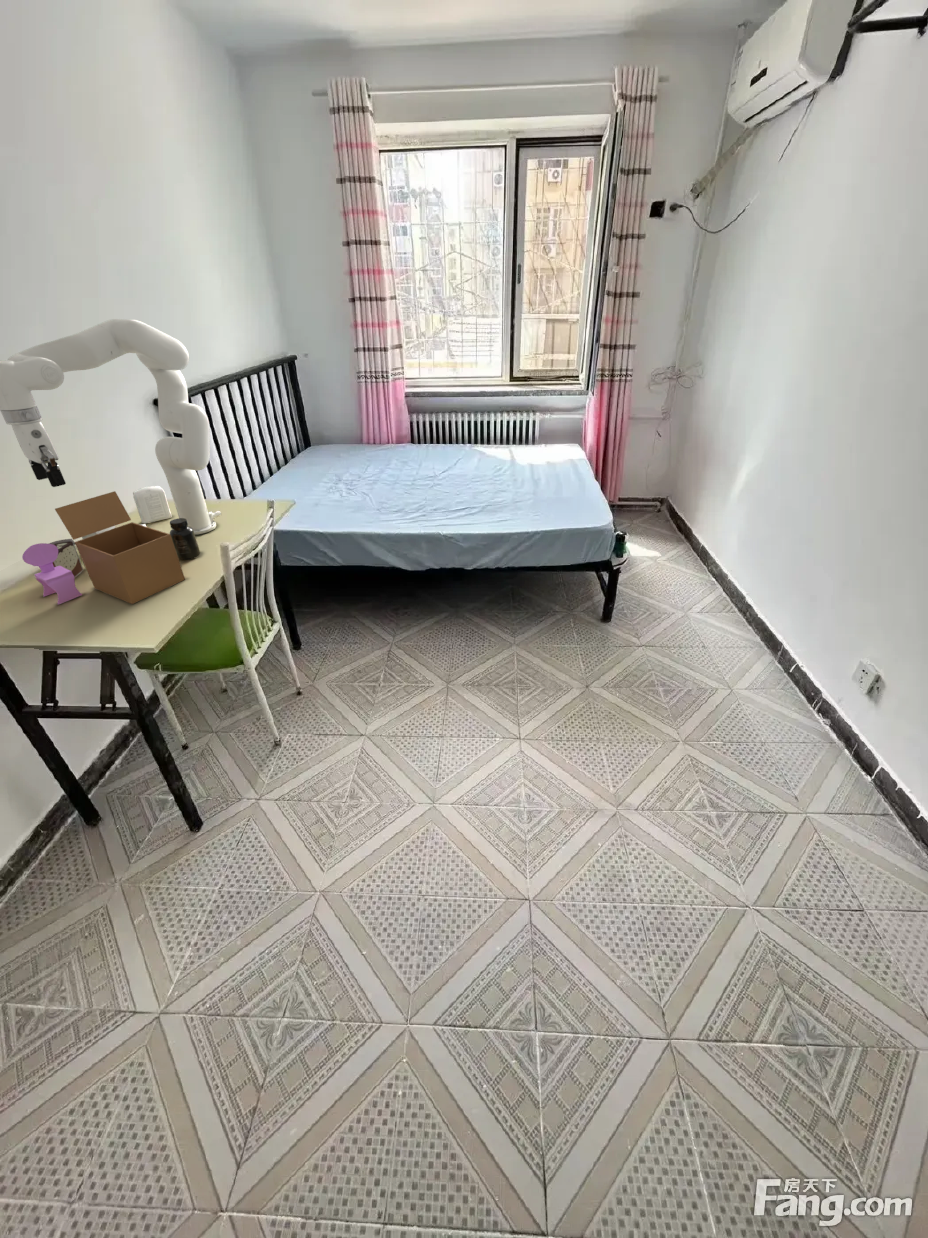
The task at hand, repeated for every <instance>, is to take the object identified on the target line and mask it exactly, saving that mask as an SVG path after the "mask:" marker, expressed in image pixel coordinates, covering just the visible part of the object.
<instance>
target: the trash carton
mask: <svg viewBox="0 0 928 1238" xmlns="http://www.w3.org/2000/svg"><path fill="white" fill-rule="evenodd" d="M146 526H147V525H146ZM146 526H142V525H140V524H139V523H136V522H133V521H132V522H129V523H126V524H122V525H120V526H117V527H116V528H114V529H111V530H108V531H105V532H102V533H99V534H96V535H94V536H91V537H88V538H85V539H82V538H81V539H79V540H77V541H76V540H75V541H74V542H75V544H76V545H75V548H76V550H77V552H78V553H79V554H78V555H79V557H80V559H81V560H82V563H83V565H84V568H85V569H86V572H87V575H88V577H89V579H90V581H91V583H92V585H93V588H94V589H95V590H98V591H101V592H102V593H105V594H107V595H110V596H111V597H114V598H117V599H119V600H121V601H124V602H125V603H128V604H131V605H133V604H136V603H138V602H140V601H142V600H144V599H146V598H149V597H150V596H152V595H155V594H157V593H160V592H162V591H164V590H166V589H167V588H170V587H172V586H174V585H177V584H179V583H180V582H183V581H185V580H186V577H185V575H184V572H183V568H182V566H181V563H180V559H179V558H178V556H177V553H176V550H175V547H174V544H173V541H172V538H171V535H170V533H167V532H165V531H162V530H158V529H155V528H152V527H148V526H147V527H146Z"/></svg>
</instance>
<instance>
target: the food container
mask: <svg viewBox="0 0 928 1238" xmlns="http://www.w3.org/2000/svg"><path fill="white" fill-rule="evenodd" d="M75 542H76V541H74V540H73V538H65V539H58V540H55V541H52V542H49V543H47V544H53V545H55V546H56V547H57V548H58V556H57V559H56V560H55V561H53V566H54V567H57V566H62V567H64V568H65V569H68V570H70V571H72V574H73V575H74V579H76V578H77V577H78V576H79V575H80V574H81V573H83V572H84V568H83V565H82V562H81V558H80V555H79V554H78V553H79V552H78V550H77V547H76V544H75Z"/></svg>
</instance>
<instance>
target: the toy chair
mask: <svg viewBox="0 0 928 1238" xmlns="http://www.w3.org/2000/svg"><path fill="white" fill-rule="evenodd" d="M57 556H58V548H57V547H56V546H55V545H53V544H48V543H46V542H45V543H44V542H43V543H42V542H41V543H34V544H32V545H30V546H29V547H27V549H25V551H24V552H23V554H22V560H23V562H24V563H25V564H27V565H31V566H32V567H39V570H40V572H37V573H34V574H33V576H34V577H35V580H36V581H38V582H39V583H40V584H41V585H42V589H43V594H42V596H43V598H45V597H47V596H50V595H53V594H57V603H56V604H57V606H58V605H61V604H64V603H66V602H69V601H71V600H73V599H77V598H78V597H81V596H83V593H81V592H80V591H79V589H77V587H76V586H77V585H76V582H75V579H76V578H74V575H73V574H72V571H70V570H68V569H65V568H64V567H62V566H57V567H54V566H53V561H55V560H56V559H57Z"/></svg>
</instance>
